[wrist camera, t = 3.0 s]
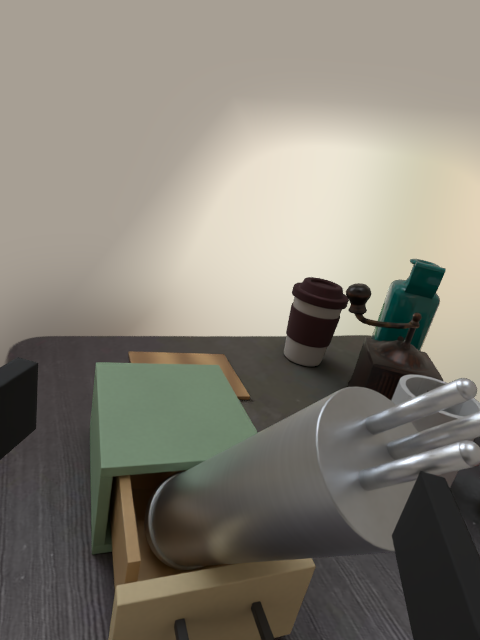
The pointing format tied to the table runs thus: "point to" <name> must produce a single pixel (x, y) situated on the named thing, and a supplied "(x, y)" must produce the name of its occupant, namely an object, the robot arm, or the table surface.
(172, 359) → the wooden board
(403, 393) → the cup
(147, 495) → the drawer
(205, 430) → the cabinet
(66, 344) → the table surface
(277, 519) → the cylinder
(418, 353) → the manual coffee grinder
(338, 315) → the coffee cup
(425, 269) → the teal bottle
